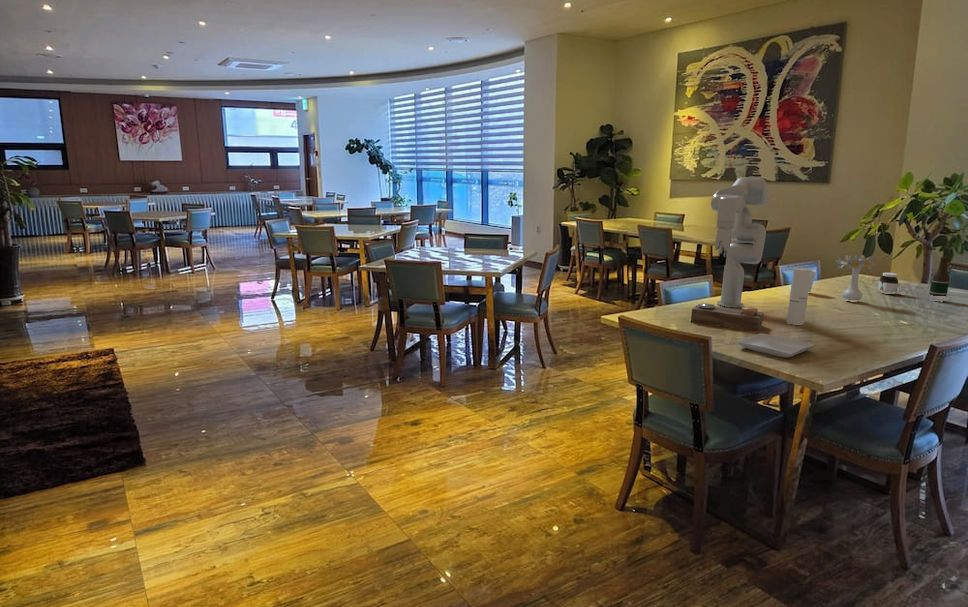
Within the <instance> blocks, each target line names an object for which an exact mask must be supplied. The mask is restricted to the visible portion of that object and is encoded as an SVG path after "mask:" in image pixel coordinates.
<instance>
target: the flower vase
mask: <svg viewBox="0 0 968 607" xmlns="http://www.w3.org/2000/svg"><path fill="white" fill-rule="evenodd" d="M851 257H852V256H851V255H849V256H848V254H846V255H845V257H844V260H842V259H841V257H840V256H837V259H835V264H838V265H837V267H836V270H839V269H840V270H842V268H843V267H845V266H846V269H847V270H852V275H851V280H850V283H849V286H848V287H847V288H846V289H845V290H844V291H843V292H842V294H841V296H842V298H843V299H844V298H845V299H848V300H858V301H860V300H861V299H863V296H864V295H863V293H862V292H861V290H860V289H859V276H860V272H861V269H862V268H866V269H867V268H868V269H869V270H870V271H872V270H873V267H874V266H877V263H876V262H874V261H872V259H873V257H872V256H871V255H870V256H869V257H867V258H866V256H865V255H864V254H861V258H859V257H858V254H855V255H854V257H853V258H851ZM845 299H844V300H845Z"/></svg>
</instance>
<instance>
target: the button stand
mask: <svg viewBox="0 0 968 607" xmlns="http://www.w3.org/2000/svg"><path fill="white" fill-rule="evenodd" d="M699 304H700V303H698V304H696V305H695V306H694V307H693V308H691V316H690V322H691V321H692V322H691V323H696V322H698V323H699V324H703V325H704V324H705V325H710V324H711V326H716V325H719V326H718V327H723V326H726V327H725V328H730V327H732V328H731V329H737V330H743V329H744V330H745V331H752V332H757V331H758V332H759V330H760V329H761V327H762V326H763V319H764V312H761V311H757V312H756V314H755V316H752V315H745V314H743V311H742V309H741V308H739V309H738V308H731V307H724V306H715V305H714V309H713V310H708V309H700V307H699ZM698 323H697V324H698Z"/></svg>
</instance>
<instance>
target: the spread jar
mask: <svg viewBox="0 0 968 607" xmlns="http://www.w3.org/2000/svg"><path fill="white" fill-rule="evenodd" d="M898 289H899V290H898ZM878 290H880V291H884V292H896V293H897V292H898V291H899V293H900V292H903V293H904V291H903V287H902V283H901V282H900V283H899V280H898V274H897V273H894V272H882V276H881V277H879V280H878V286H877V291H878Z"/></svg>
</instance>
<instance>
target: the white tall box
mask: <svg viewBox="0 0 968 607" xmlns="http://www.w3.org/2000/svg"><path fill="white" fill-rule="evenodd" d="M812 270H813V269H812ZM812 270H811V268H805V267H793V271H792V277H791V278H792V279H791V286H790V292H789V299H788V307H787V315H786V316H787V317H786V322H787V323H788V324H787V323H786V324H787V325H789V324H793V325H792V326H794V325H802V324H804V325H805V319H806V312H807V305H808V299H809V294H808V292H809V285H810V278H811V271H812Z"/></svg>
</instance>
